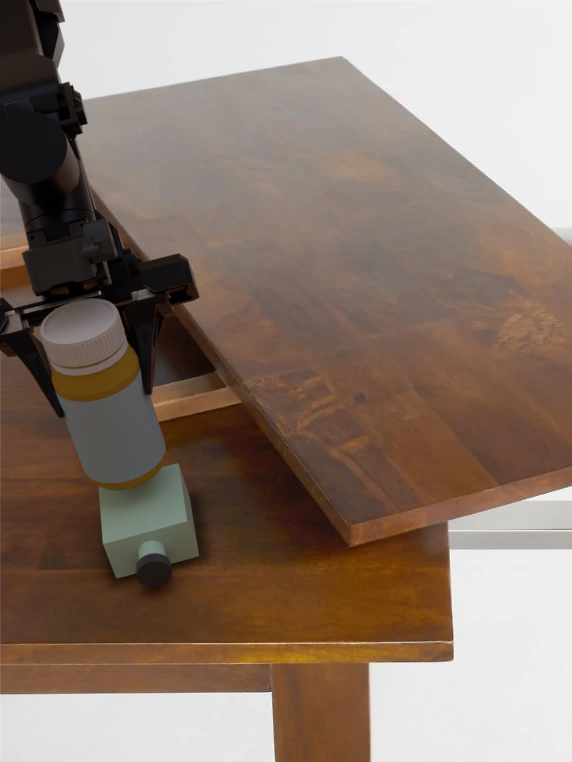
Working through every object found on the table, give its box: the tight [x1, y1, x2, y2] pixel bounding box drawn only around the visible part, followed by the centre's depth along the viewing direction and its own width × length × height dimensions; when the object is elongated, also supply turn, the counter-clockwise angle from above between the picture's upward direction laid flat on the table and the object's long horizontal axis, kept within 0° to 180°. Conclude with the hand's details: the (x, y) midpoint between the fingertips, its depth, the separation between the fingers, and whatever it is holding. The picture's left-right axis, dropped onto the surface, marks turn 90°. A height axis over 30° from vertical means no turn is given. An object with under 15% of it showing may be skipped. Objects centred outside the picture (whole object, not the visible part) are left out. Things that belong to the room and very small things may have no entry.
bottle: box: [39, 299, 168, 490], centre depth 112 cm, size 7×7×15 cm
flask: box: [98, 462, 200, 588], centre depth 115 cm, size 11×7×4 cm, turn 12°
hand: (105, 405), depth 110 cm, fingers closed on bottle, 7 cm apart
